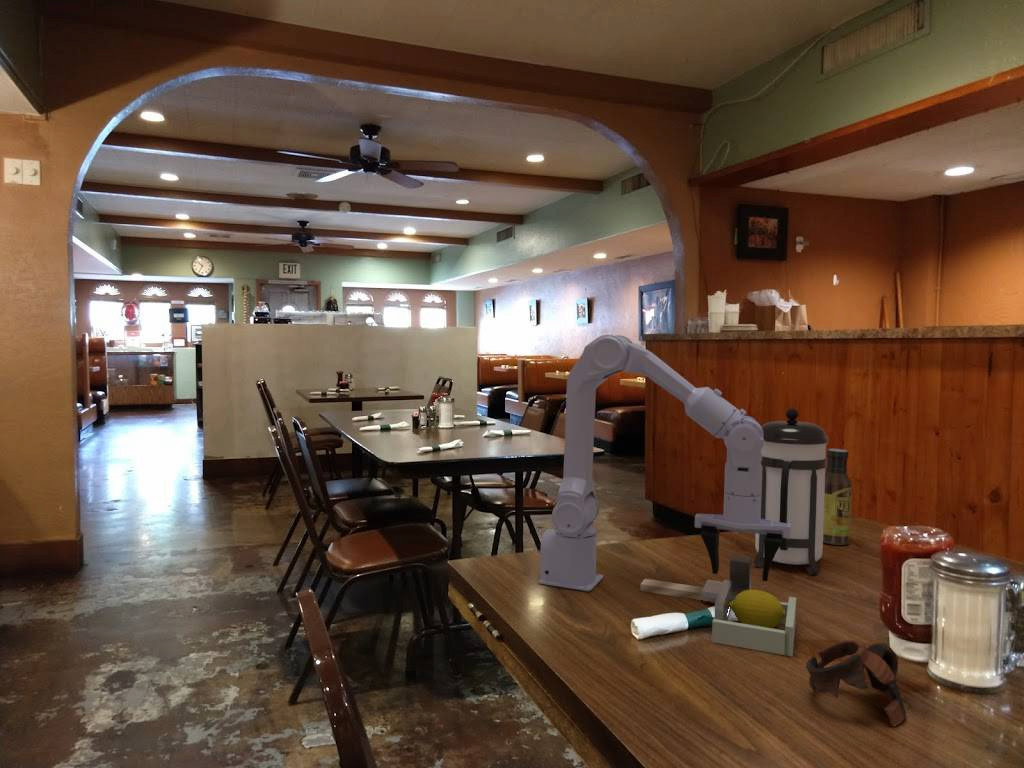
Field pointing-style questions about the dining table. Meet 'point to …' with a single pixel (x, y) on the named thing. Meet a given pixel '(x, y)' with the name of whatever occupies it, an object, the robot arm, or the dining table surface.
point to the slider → (729, 585)
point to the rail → (674, 590)
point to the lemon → (757, 608)
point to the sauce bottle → (837, 499)
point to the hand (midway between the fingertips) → (740, 575)
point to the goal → (759, 633)
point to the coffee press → (794, 489)
